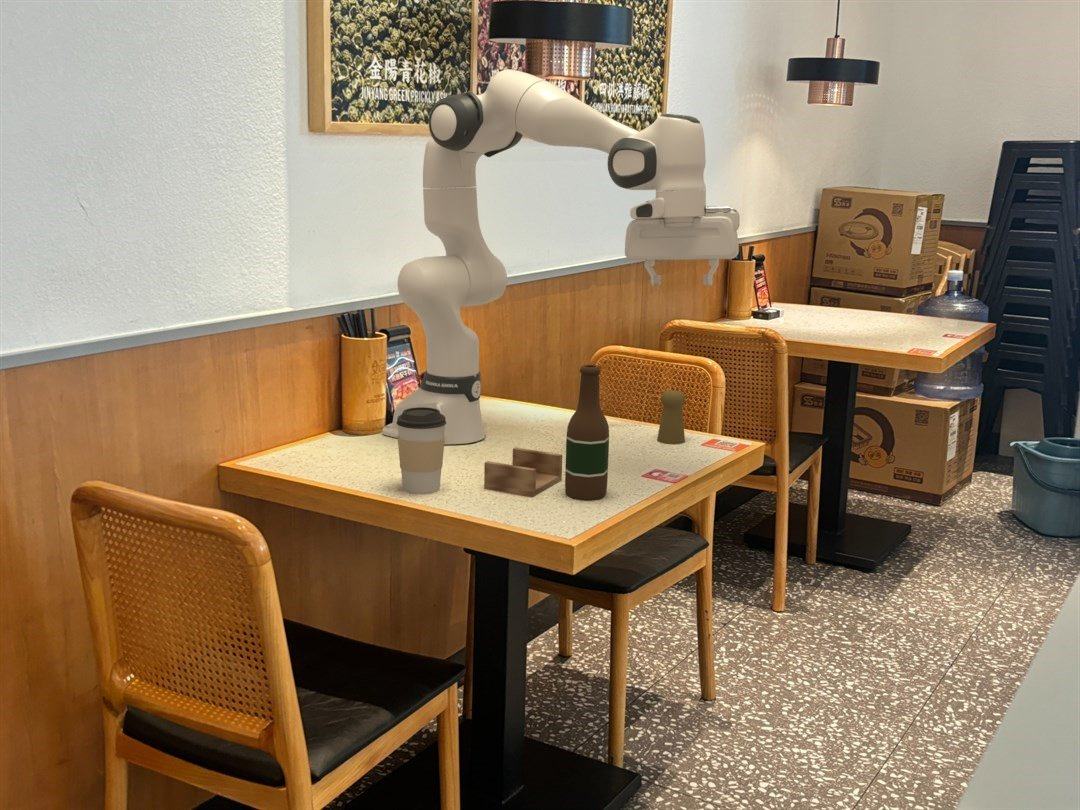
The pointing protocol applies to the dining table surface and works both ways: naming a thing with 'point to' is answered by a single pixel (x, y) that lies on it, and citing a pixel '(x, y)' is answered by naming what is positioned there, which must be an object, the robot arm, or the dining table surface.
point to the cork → (672, 418)
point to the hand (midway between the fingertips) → (681, 285)
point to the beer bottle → (587, 442)
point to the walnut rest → (524, 472)
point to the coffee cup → (421, 449)
